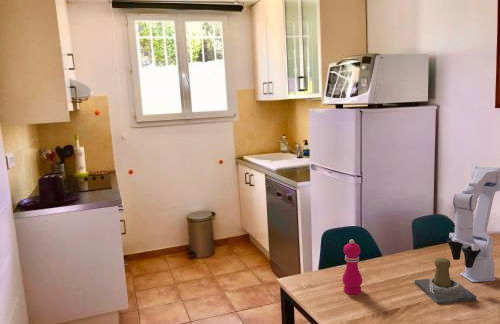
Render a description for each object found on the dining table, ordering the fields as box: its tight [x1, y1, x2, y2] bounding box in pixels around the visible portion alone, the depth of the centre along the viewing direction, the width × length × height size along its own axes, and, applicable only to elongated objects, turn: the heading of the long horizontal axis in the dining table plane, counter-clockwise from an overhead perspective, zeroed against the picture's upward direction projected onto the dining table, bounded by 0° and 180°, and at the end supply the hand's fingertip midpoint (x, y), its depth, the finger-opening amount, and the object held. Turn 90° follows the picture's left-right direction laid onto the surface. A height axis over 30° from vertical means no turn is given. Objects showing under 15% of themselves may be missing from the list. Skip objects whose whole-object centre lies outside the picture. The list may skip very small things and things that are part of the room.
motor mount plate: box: [414, 276, 477, 305], centre depth 145 cm, size 14×16×4 cm
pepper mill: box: [341, 238, 363, 296], centre depth 147 cm, size 7×7×20 cm
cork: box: [433, 257, 451, 288], centre depth 144 cm, size 6×6×11 cm
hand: (462, 263), depth 144 cm, fingers open, 7 cm apart
